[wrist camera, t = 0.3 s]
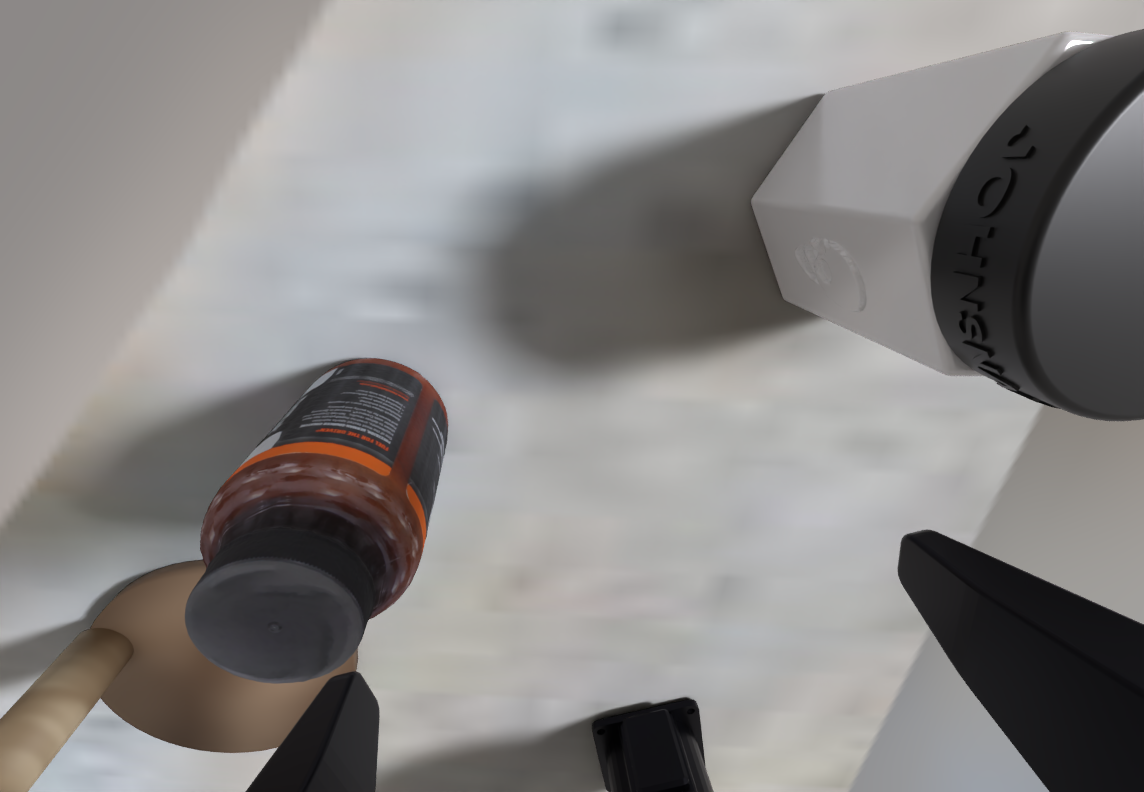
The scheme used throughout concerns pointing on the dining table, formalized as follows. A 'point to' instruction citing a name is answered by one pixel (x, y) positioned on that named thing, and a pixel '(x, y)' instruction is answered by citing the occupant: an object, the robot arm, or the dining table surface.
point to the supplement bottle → (320, 525)
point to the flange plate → (148, 685)
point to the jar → (980, 218)
